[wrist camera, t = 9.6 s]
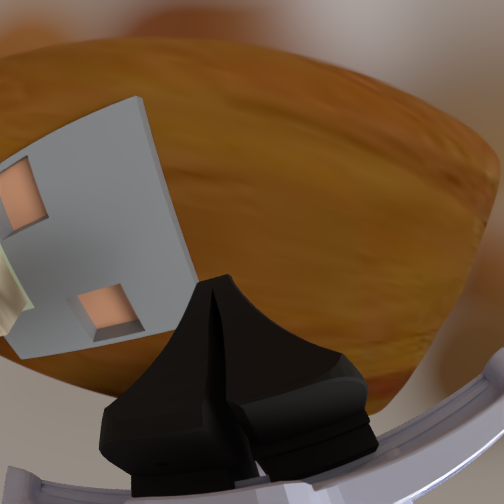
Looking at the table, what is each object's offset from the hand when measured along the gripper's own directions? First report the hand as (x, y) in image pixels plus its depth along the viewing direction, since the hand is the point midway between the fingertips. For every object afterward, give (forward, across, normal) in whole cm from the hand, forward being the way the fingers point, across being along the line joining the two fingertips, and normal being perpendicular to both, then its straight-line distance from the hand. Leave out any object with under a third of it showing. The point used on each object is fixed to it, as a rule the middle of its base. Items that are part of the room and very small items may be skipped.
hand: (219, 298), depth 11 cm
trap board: (+9, +12, -1) cm, 15 cm away
